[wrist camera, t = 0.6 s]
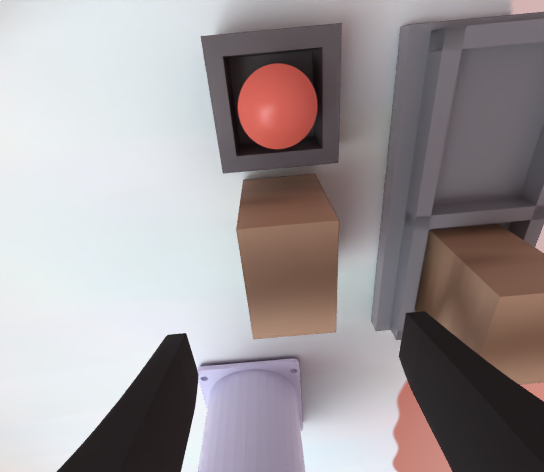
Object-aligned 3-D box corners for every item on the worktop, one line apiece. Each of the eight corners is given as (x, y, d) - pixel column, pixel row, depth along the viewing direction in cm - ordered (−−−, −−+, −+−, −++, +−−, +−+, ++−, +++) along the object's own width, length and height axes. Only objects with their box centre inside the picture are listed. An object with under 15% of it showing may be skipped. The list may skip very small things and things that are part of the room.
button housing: (325, 147, 16) (338, 162, 14) (228, 156, 16) (223, 173, 14) (325, 31, 14) (341, 23, 11) (211, 42, 14) (200, 36, 11)
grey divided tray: (493, 309, 23) (515, 332, 21) (371, 320, 23) (381, 344, 21) (599, 8, 14) (654, -2, 12) (400, 27, 14) (423, 20, 12)
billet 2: (473, 302, 21) (546, 382, 16) (414, 307, 21) (467, 389, 16) (497, 223, 18) (597, 288, 13) (429, 229, 18) (500, 297, 13)
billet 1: (315, 262, 20) (335, 331, 15) (254, 268, 20) (253, 339, 15) (314, 173, 17) (339, 220, 12) (243, 180, 17) (236, 229, 12)
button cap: (309, 134, 14) (317, 145, 12) (245, 140, 14) (243, 152, 12) (307, 60, 13) (317, 59, 11) (236, 67, 13) (232, 67, 11)
